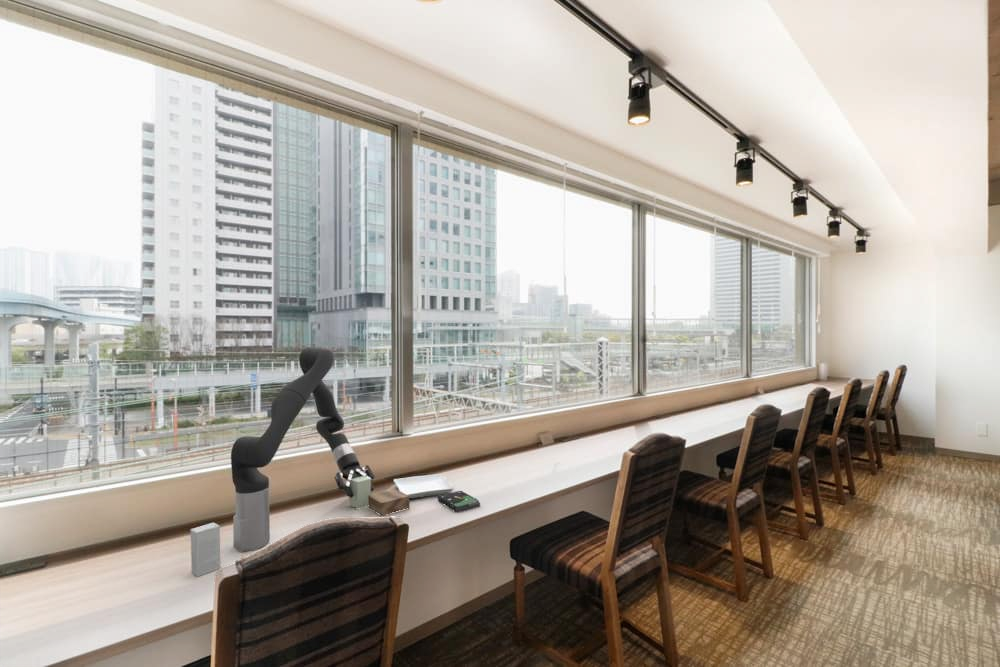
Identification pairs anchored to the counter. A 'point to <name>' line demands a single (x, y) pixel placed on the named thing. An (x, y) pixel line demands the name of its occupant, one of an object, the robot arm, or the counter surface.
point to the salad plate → (423, 485)
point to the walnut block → (388, 502)
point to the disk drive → (459, 501)
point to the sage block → (360, 491)
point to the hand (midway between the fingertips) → (362, 493)
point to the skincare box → (205, 549)
